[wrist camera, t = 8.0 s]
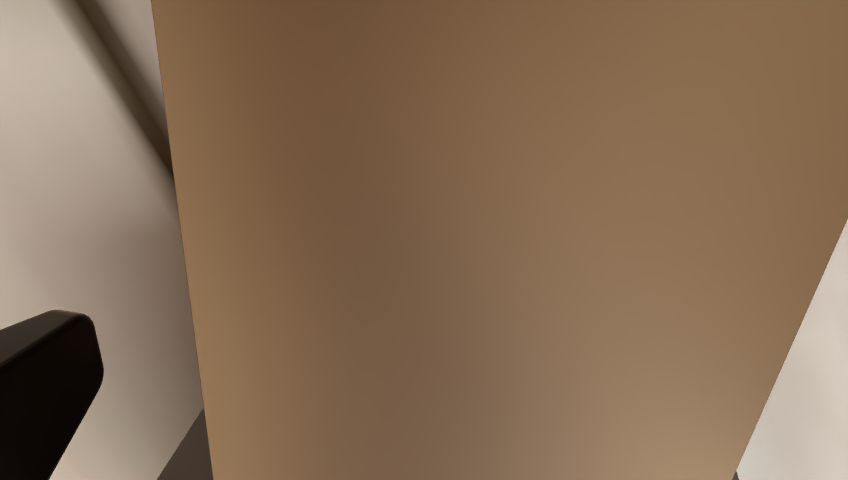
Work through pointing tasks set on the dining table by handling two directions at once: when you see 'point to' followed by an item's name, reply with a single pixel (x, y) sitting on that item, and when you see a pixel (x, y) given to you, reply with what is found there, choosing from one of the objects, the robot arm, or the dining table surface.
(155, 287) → the dining table surface
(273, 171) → the brown wooden block
